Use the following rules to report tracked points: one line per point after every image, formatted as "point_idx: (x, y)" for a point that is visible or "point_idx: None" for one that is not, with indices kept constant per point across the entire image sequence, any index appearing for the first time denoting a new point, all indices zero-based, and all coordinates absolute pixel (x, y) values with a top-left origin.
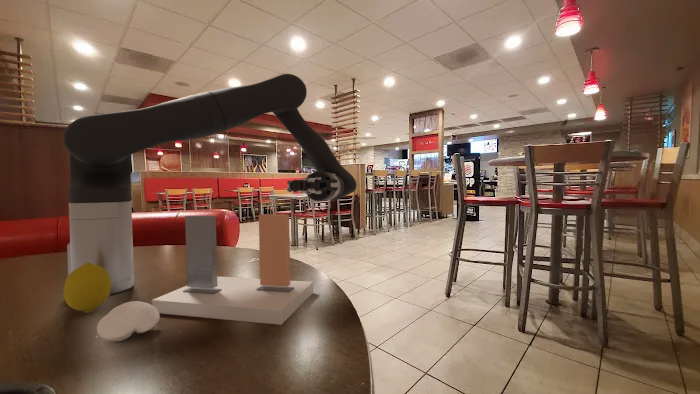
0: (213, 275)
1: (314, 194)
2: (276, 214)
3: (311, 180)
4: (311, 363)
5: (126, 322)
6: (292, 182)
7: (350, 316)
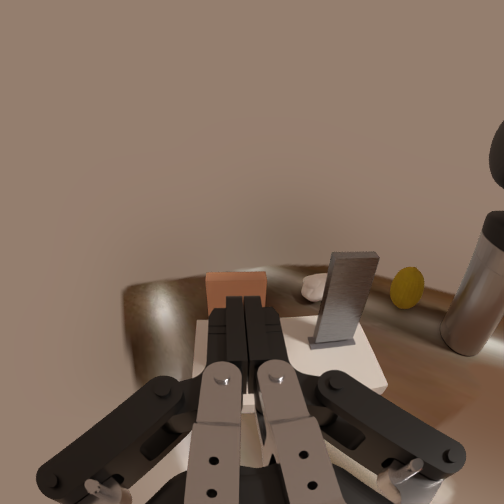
0: (316, 325)
1: None
2: (232, 279)
3: (201, 382)
4: (156, 295)
5: (309, 278)
6: (272, 308)
7: (130, 352)
